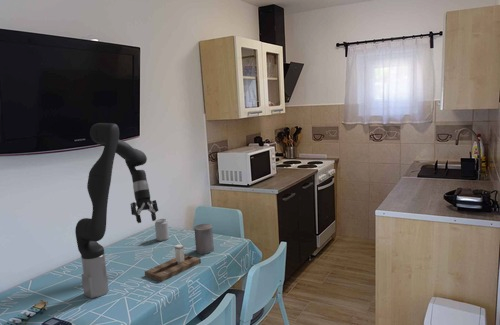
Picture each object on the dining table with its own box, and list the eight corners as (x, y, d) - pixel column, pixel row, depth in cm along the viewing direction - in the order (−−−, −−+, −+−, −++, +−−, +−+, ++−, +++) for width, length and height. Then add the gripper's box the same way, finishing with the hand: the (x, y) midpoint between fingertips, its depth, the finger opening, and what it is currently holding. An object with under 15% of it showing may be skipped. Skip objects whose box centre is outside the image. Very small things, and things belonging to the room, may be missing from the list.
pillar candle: (199, 247, 217) (196, 221, 214) (216, 247, 215) (214, 221, 213) (193, 254, 207) (191, 227, 205) (211, 254, 206) (209, 227, 203)
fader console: (161, 282, 176) (160, 277, 175) (145, 275, 183) (144, 271, 183) (200, 262, 195) (200, 258, 195) (184, 257, 202) (184, 253, 202)
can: (165, 241, 229) (164, 221, 227) (154, 241, 231) (152, 221, 229) (171, 237, 236) (169, 218, 235) (159, 236, 238) (157, 218, 236)
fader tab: (180, 265, 190) (179, 247, 189) (176, 263, 192) (174, 245, 191) (184, 263, 192) (183, 245, 191) (180, 261, 194) (178, 244, 193)
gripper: (133, 189, 190) (138, 222, 187) (157, 187, 201) (163, 218, 198) (125, 193, 195) (130, 225, 192) (149, 191, 205) (154, 221, 203)
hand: (147, 221), depth 195 cm, fingers open, 8 cm apart
